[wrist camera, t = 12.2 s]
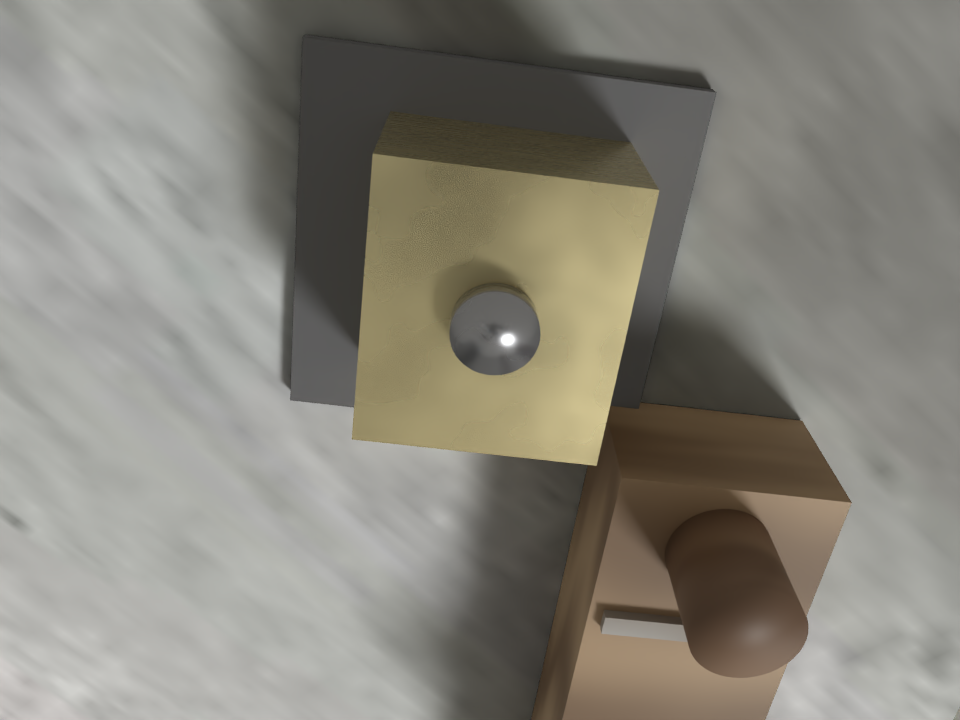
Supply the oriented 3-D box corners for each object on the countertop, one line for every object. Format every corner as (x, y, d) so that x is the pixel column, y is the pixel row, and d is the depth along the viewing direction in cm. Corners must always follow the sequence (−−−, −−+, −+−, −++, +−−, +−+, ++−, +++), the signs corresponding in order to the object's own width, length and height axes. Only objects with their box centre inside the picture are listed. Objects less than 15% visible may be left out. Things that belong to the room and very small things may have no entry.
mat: (292, 393, 26) (290, 400, 26) (305, 34, 21) (302, 37, 21) (629, 430, 27) (631, 437, 26) (712, 89, 22) (716, 92, 22)
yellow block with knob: (580, 385, 25) (599, 479, 21) (370, 362, 25) (348, 453, 21) (631, 142, 22) (664, 198, 18) (390, 111, 22) (369, 161, 18)
